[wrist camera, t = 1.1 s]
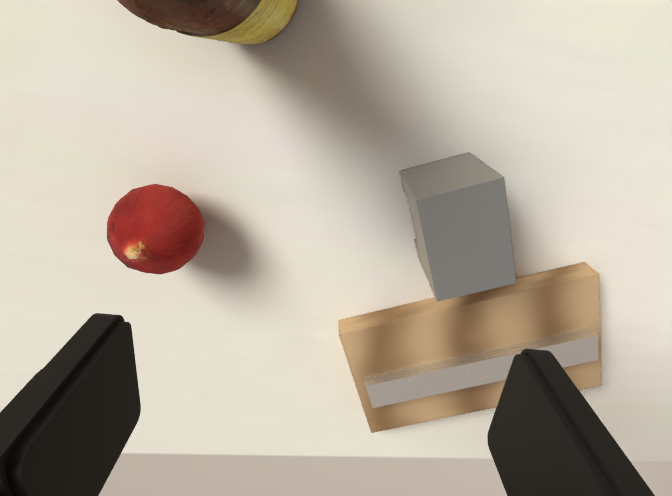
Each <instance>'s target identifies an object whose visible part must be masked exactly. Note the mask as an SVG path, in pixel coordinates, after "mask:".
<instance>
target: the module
mask: <svg viewBox="0 0 672 496" xmlns="http://www.w3.org/2000/svg"><path fill="white" fill-rule="evenodd" d="M399 172H400V176H401V181H402V186H403V190H404V192H405V194H406V196H407V199H408V203H409V208H410V212H411V217H412V222H413V226H414V231H415V236H416V239H414V240H415V245H416V250H417V254H418V258H419V260H420V262H421V265H422V267H423V269H424V272H425V274H426V277H427V279H428V281H429V284H430V286H431V288H432V291H433V293H434V296H435V298H436V300H437V302H438V301H443V300H447V299H451V298H455V297H460V296H464V295H468V294H472V293H477V292H481V291H485V290H489V289H494V288H498V287H502V286H506V285H511V284H515V283H516V276H515V267H514V258H513V250H512V241H511V233H510V224H509V215H508V207H507V198H506V190H505V181H504V177H503V176H502V175H500V174H499V173H498V172H496V171H495V170H493V169H492V168H491V167H489V166H488V165H486V164H485V163H484V162H482V161H481V160H480V159H478V158H477V157H475V156H474V155H473V154H471V153H470V152H468V153H464V154H460V155H457V156H453V157H449V158H445V159H442V160H438V161H434V162H431V163H427V164H423V165H419V166H416V167H412V168H408V169H405V170H401V171H399Z"/></svg>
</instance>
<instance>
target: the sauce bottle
mask: <svg viewBox="0 0 672 496" xmlns="http://www.w3.org/2000/svg"><path fill="white" fill-rule="evenodd" d="M117 1H119V2H120V3H121V4H122V5H123V6H124V7H125V8H127V9H128V10H129V11H130V12H131V13H133V14H135V15H136V16H138V17H140V18H142V19H144V20H146V21H147V22H149V23H151V24H153V25H157V26H158V27H160V28H163V29H171V30H176V31H177V32H179V33H182V34H185V35H189V36H195V37H201V38H207V39H214V40H219V41H226V42H231V43H239V44H257V43H262V42H265V41H267V40H270V39H272V38H273V37H275V36H277V35H278V34H279V33H280V32H281V31H282V30H283V28H285V26H286V25H287V24H288V23H289V21H290V20H291V18H292V17H293V15H294V13H295V11H296V9H297V4H298V0H117Z"/></svg>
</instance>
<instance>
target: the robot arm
mask: <svg viewBox="0 0 672 496" xmlns="http://www.w3.org/2000/svg"><path fill="white" fill-rule="evenodd" d="M140 409H141V407H140V397H139V389H138V380H137V372H136V363H135V355H134V346H133V338H132V329H131V325H130V323H129V322H124V319H123V317H122V316H121V315H111V314H99V313H96V314H94V315H92V316H91V317H90V318H89V319H88V320H87V321H86V323H85V324H84V325H83V326H82V327H81V328H80V329H79V330H78V331H77V332H76V333H75V335H74V336H73V337H72V338H71V339H70V340H69V341H68V342H67V343H66V344H65V345H64V346H63V348H62V349H61V350H60V351H59V352H58V353H57V354H56V355H55V356H54V357H53V358H52V360H51V361H50V362H49V363H48V364H47V365H46V366H45V367H44V368H43V369H41V370H40V371H39V372H38V373H37V374H36V375H35V376H34V377H33V378H32V379H31V380H30V381H29V382H28V383H27V384H26V385H25V387H24V388H23V389H22V390H21V391H20V392H19V393H18V394H17V395H16V396H15V397H14V398H13V399H12V401H11V402H10V403H9V404H8V405H7V406H6V407H5V408H4V409H3V410H2V411H1V412H0V496H98V495H99V493H100V491H101V490H102V488H103V486H104V484H105V482H106V480H107V478H108V476H109V475H110V473H111V471H112V469H113V467H114V465H115V463H116V461H117V460H118V458H119V456H120V454H121V452H122V450H123V448H124V446H125V445H126V443H127V441H128V439H129V437H130V435H131V433H132V431H133V429H134V428H135V426H136V424H137V422H138V419H139V416H140ZM488 446H489V449H490V452H491V454H492V457H493V459H494V462H495V465H496V467H497V470H498V472H499V475H500V478H501V480H502V483H503V485H504V488H505V490H506V493H507V495H508V496H655V495H654V494H653V493H652V491H651V490H650V488H649V487H648V486H647V484H646V483H645V482H644V480H643V479H642V477H641V476H640V475H639V473H638V472H637V470H636V469H635V468H634V466H633V465H632V463H631V462H630V461H629V459H628V458H627V456H626V455H625V454H624V452H623V451H622V450H621V448H620V447H619V445H618V444H617V443H616V441H615V440H614V438H613V437H612V436H611V434H610V433H609V431H608V430H607V429H606V427H605V426H604V425H603V423H602V422H601V420H600V419H599V418H598V416H597V415H596V413H595V412H594V411H593V409H592V408H591V406H590V405H589V404H588V402H587V401H586V400H585V398H584V397H583V395H582V394H581V393H580V391H579V390H578V388H577V387H576V386H575V384H574V383H573V381H572V380H571V379H570V377H569V376H568V375H567V373H566V372H565V370H564V369H563V368H562V366H561V365H560V363H559V362H558V361H557V359H556V358H555V356H554V355H553V354H552V353H551V352H550V351H548V350H536V349H524V350H523V351H522V352H521V354H516V355H515V356H514V358H513V361H512V364H511V367H510V370H509V373H508V375H507V378H506V381H505V384H504V387H503V390H502V393H501V396H500V399H499V402H498V405H497V408H496V411H495V414H494V417H493V419H492V422H491V425H490V428H489V431H488Z"/></svg>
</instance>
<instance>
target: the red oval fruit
mask: <svg viewBox="0 0 672 496" xmlns="http://www.w3.org/2000/svg"><path fill="white" fill-rule="evenodd" d="M204 224H205V223H204V221H203V218H202V216H201V213H200V211H199V209H198V207H197V206H196V205H195V204H194V203H193V202H192V201H191V200H190V199H189V198H188V196H186V195H184V194H183V193H181V192H180V191H178V190H176V189H175V188H173V187H168V186H163V185H158V184H153V185H148V186H144V187H140V188H136V189H132V190H131V191H130V192H129V193H127V194H126V195H125V196H124V197H122V198H121V199H120V200H119V201H118V202H117V203H116V204H115V206H114V208H113V210H112V212H111V214H110V216H109V217H108V222H107V240H108V242H109V244H110V247H111V249H112V251H113V253H114V255H115V256H116V257H117V258H118V259H119V260H120V261H121V262H122V263H123V264H125V265H126V266H127V267H128V268H131V269H135V270H138V271H141V272H145V273H153V274H164V273H168V272H172V271H175V270H178V269H180V268H181V267H183V266H184V265H185V264H186V263H187V262H189V261H190V260H191V259H192V258H193V257H194V256H195V255H196V254H197V252H198V250H199V248H200V246H201V244H202V242H203V239H204Z"/></svg>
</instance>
